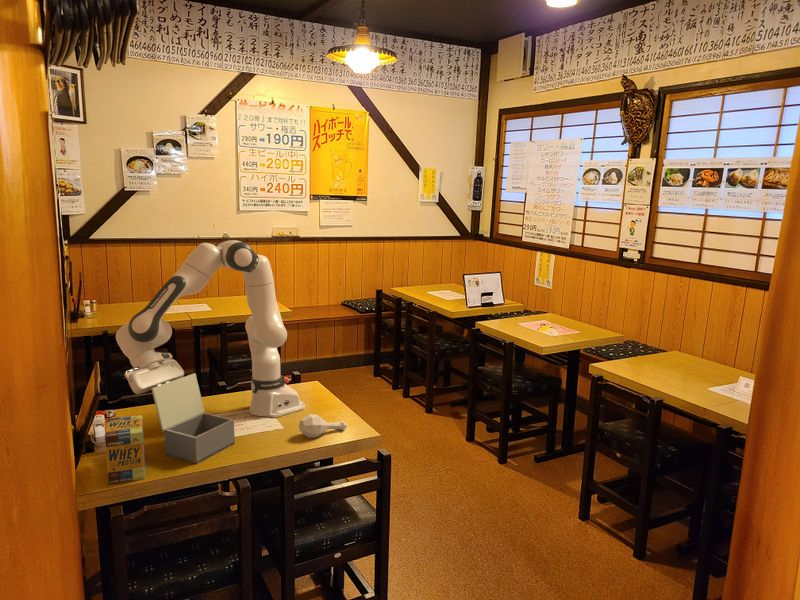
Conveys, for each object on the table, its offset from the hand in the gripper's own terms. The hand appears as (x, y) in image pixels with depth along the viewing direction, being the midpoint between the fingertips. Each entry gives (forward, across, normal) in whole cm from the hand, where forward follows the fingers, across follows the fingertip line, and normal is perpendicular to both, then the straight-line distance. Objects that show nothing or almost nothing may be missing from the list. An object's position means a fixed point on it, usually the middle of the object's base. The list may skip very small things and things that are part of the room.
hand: (169, 395), depth 204 cm
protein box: (+16, -23, +8) cm, 29 cm away
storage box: (+22, 0, +2) cm, 22 cm away
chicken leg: (+43, +32, -18) cm, 56 cm away
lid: (+4, 0, -3) cm, 5 cm away
